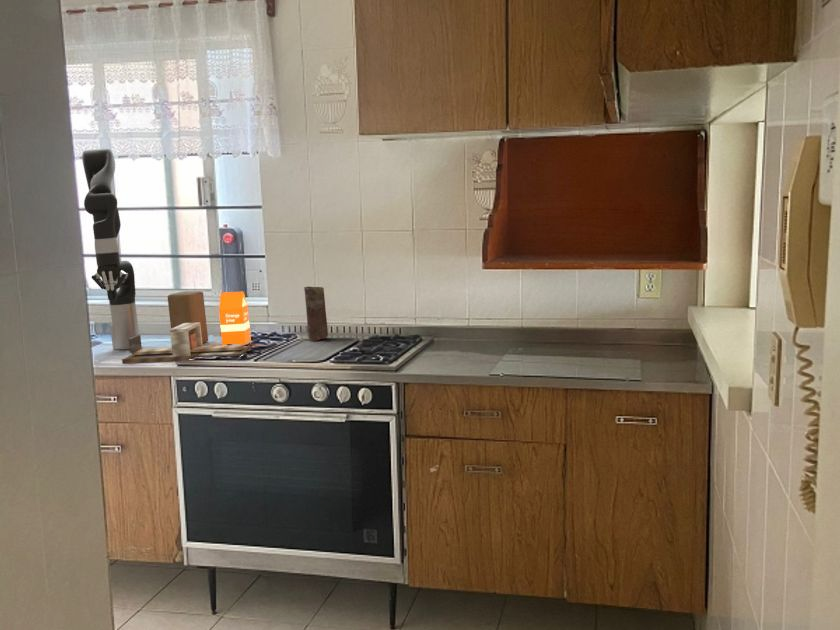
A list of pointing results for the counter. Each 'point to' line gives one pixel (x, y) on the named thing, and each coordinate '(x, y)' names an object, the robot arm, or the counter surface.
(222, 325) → the orange juice
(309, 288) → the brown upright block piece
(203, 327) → the wooden block
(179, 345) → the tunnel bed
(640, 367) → the counter surface
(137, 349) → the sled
